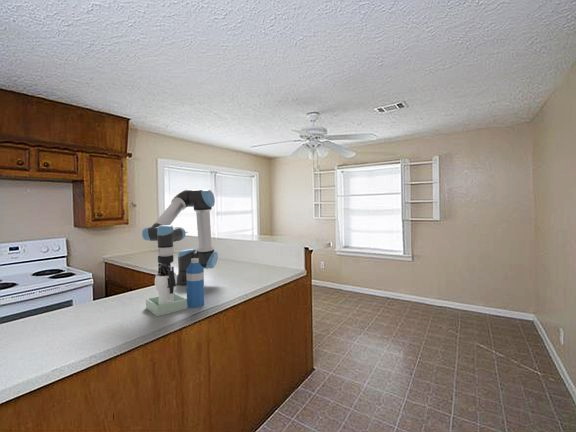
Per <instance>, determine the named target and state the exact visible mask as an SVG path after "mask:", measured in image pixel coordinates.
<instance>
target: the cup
mask: <svg viewBox="0 0 576 432" xmlns="http://www.w3.org/2000/svg"><path fill="white" fill-rule="evenodd" d="M174 276H175V283H177V274H176V272H174ZM168 278H169V276H166V275H165V276H160V273H158V272H157V274H155V277H154V286H155V288H156V290H157V292H158V296H159V301H158V304H160V305H162V304H166V303H171V302H174V299H172V300H168V288H167V287H168ZM176 286H177V285H176ZM176 286H174V290H175V289H176Z"/></svg>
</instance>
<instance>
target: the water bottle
mask: <svg viewBox="0 0 576 432" xmlns="http://www.w3.org/2000/svg"><path fill="white" fill-rule="evenodd" d="M204 270H205V268H203V267H202V266H201V264H200V263H199V258H192V259H191V263H190V265H189V266H188V268H187V269H186V272H187V285H186V299H187V308H188V307H189V308H193V309H194V308H199V307H202V306H203V305H205V286H204V285H205V279H204V278H205V276H204V275H205V271H204Z"/></svg>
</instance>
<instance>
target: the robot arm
mask: <svg viewBox="0 0 576 432" xmlns="http://www.w3.org/2000/svg"><path fill="white" fill-rule="evenodd" d="M170 202H171V203H170V204H169V205H168V206H167V208H166V209H165V210H164V211H163V213H162V214H161V215H160V216H159V217H158V218H157V219H156V221H154V223H153V224H152V226H147V227H145V228H143V229H142V231H141V236H142V239H143V240H144V241H148V242H157V249H156V252H157V255H158V256H157V263H158V270H157V274H158V273H160V276H165V275H166V276H169V278H168V287H167V288H168V300H172V299H174V293H175V292H174V291H175V289H174V286H183V287H184V286H187V272H186V269H187V268H188V266H189V265H190V263H191V259H192V258H199V263H200V264H201V266H202V267H203V269H207V270H208V269H214V268H215V267H216V265H217V262H218V258H219V254H218V252H217V251H215V248H214V246H213V245H212V230H211V227H212V226H211V211H212V210H213V209H212V208H213V207H214V206H215V202H216V201H215V196H214V193H213V192H212V190H211V189H208V188H205V189H204V188H197V189H195V188H193V189H191V188H189V189H185V190H183V191H181V192H179V193H177V194H176V195H175V196H174V197H173V198H172V200H171V201H170ZM191 207H192V208H193V211H194V212H195V214H196V229H197V230H196V231H197V242H198V247H197V248H187V249H183V250H182V249H181V250H179V251H178V253H177V262H178V265H177V267H178V268H177V269H178V270H177V271H178V273H177V274H176V277H177V283H175V276H174V273H175V268H174V266H172V265H171V264H172V263H174V262H175V261H174V252H175V250H174V243H175V242H180V241H183V240H184V239H185V237H186V230H185V228H183V227H181V226H177V227H173V225H171V224H172V223H173V222H174V221H175V220H176V218H177V217H178V215H179V214H180V213H181V212H182V211H184V210H185V209H186V208H191Z"/></svg>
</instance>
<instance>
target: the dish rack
mask: <svg viewBox="0 0 576 432" xmlns="http://www.w3.org/2000/svg"><path fill="white" fill-rule="evenodd" d="M158 301H159V295H157V296H153V297H148V298H146V299H145V309H146V310H148V311H149V312H151V313H152V314H153V315H154V316H156V317H160V316H164V315H167V314H171V313H175V312H179V311H182V310H186V309H188V307H187V297H184V296H182V295H180V294H178V293H177V292H174V302H171V303H166V304H162V305H160V304H158Z"/></svg>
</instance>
